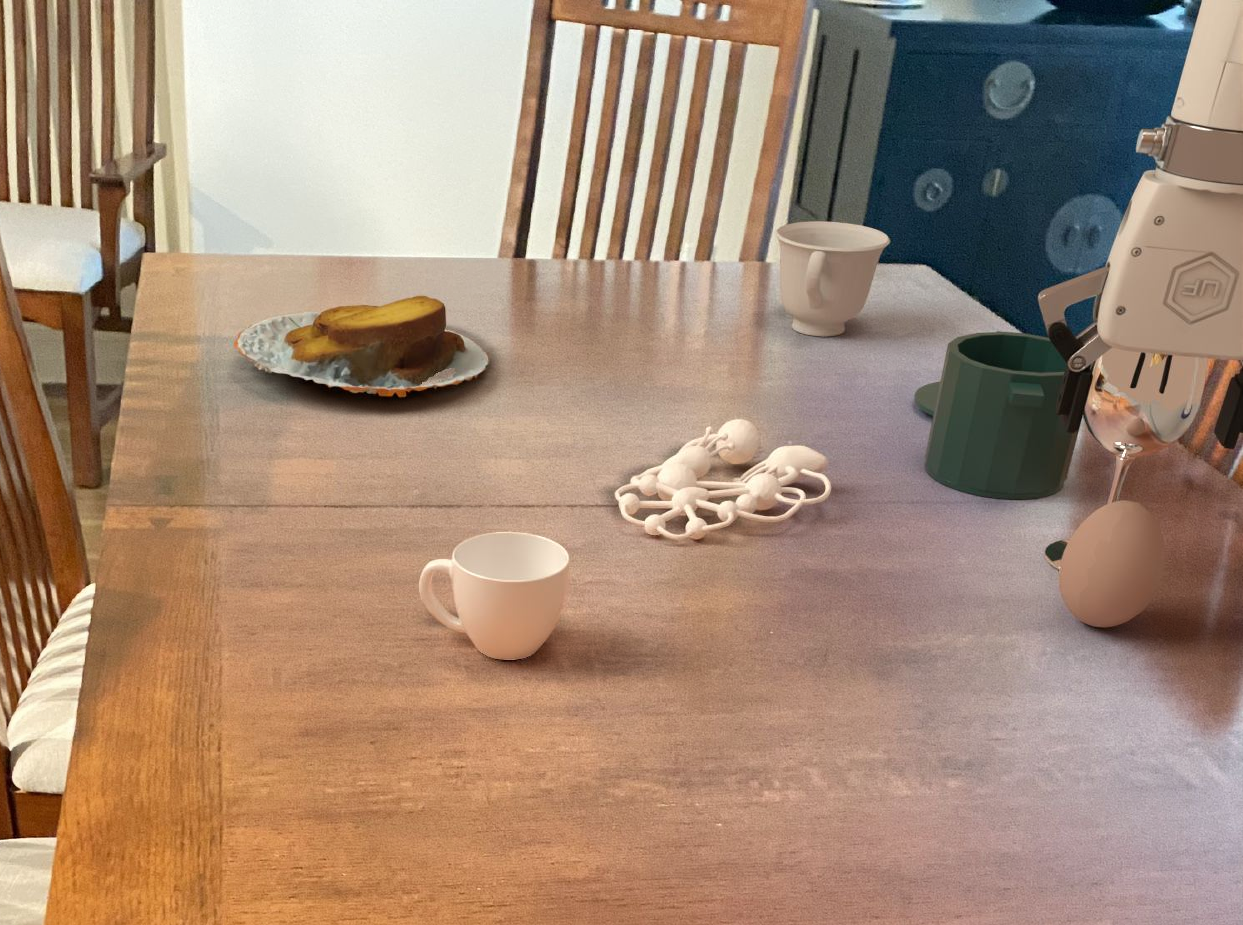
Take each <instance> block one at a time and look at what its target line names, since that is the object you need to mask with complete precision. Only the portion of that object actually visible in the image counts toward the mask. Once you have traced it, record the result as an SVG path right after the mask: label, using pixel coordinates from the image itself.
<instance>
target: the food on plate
mask: <svg viewBox="0 0 1243 925" xmlns="http://www.w3.org/2000/svg"><path fill="white" fill-rule="evenodd" d="M446 311H447V308H446V306H445V304H444V302H442V301H440V300H439V299H437V298H432V297H429V296H427V295H417V296H412V297H407V298H403V299H398V300H396V301H392V302H389V303H386V304H383V305H380V306H379V305H368V304H359V305H341V306H340V305H339V306H336V307H331V308H329V309H326V310H323V311H321V312H320V311H319V312H318V311H316V312H315V311H304V312H301V313H289V314H288V313H287V314H283V315H282V314H281V315H276V316H272V317H268V318H265V319H263V320H260V321H258V322H255V323H252V324H250V325H249V326H248V327H247V328H245V329H243V330H242V331H240V332H239V333H238V334H237V338H236V340H235V341H234V343H233V345H234V348H235V349H236V350H238V353H239V354H241V355H242V356H245V357H246V358H247V361H248V363H253V364H254V366H255V367H256V368H257V369H258V370H259V371H263V370H264V371H265V372H266V373H269V374H272V373H276V374H286V375H289V376H291V377H294V378H301V379H304V380H305V381H309V380H312V381H313V382H314V383H316V384H324V385H326V386H327V387H328V388H329V389H330V388H333V387H339V388H341V389H343V390H345V391H349V392H350V393H353V394H357V393H362V394H363V393H365V392H366V393H367V394H373V395H376V394H378V396H379V397H393V396H394V394H396V395H397V396H398V398H405V397H407V393H410V392H411V391H418V392H420V391H424V390H427V389H428V388H429V389H430V388H434V390H436V389H437V388H438V387H442V388H443V387H446V386H449V385H456V386H458V385H459V384H460V383H462V382H464V381H471V380H472V379H473V378H475V379H477V378H478V375H479V374H481V373H482V372H484V371H485V370H487V368H486V366H487V365H488V364H491V362H490V358H489V356H488V355H489V352H488V351H486V350H485V351H484V350H483V348H482V347H481V345H478V343H476V342H474V340H473V339H470V338H468V337H466V336H464V335H462V334H460V333H458V332H457V331H453V330H450V329H446V327H447V312H446ZM449 368H455V372H456V373H455V374H454V375H453V378H452V379H446V380H442V381H441V382H440V381H439V382H438V383H433V384H428V385H422V386H420V385H421V384H422V382H426V381H427V380H428V378H429V377H433V376H434V375H435V374H436V373H438V372H442V371H443V370H445V369H449Z"/></svg>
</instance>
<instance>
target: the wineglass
mask: <svg viewBox="0 0 1243 925" xmlns="http://www.w3.org/2000/svg"><path fill="white" fill-rule="evenodd" d="M1208 362H1209V358H1198V357H1187V356H1176V355H1165V354H1154V353H1144V352H1134V351H1126V350H1121V349H1117V348H1114V347H1112V348H1111V349H1109V350H1108V351H1107V352H1106V353H1104V354H1103V355H1102V356H1101V357H1099V358H1098V359H1097V360H1095V361H1094V363H1093V365H1092V368H1091V371H1092V374H1093V380H1092V384H1091V387H1090V391H1089V395H1088V398H1087V402H1086V406H1085V409H1084V413H1083V417H1082V419H1083V421H1084V423H1085V425H1086V428H1087V430H1088V432H1089V433H1090V434H1091V436H1092V437H1093V438H1094V439H1095V440H1096V442H1097V443H1098V444H1099V445H1100V446H1101V447H1102V448H1104V449H1105V450H1106V451H1107V452H1109V453H1111V454H1112V455H1114V472H1113V477H1112V482H1111V486H1110V490H1109V493H1108V496H1107V501H1106V504H1105V505H1107V504H1110V503H1113V502H1116V501H1119V498H1120V493H1121V491H1122V487H1123V485H1124V482H1125V479H1126V476H1127V474H1128V471H1129V469H1130V467H1131V465H1132V463H1133V462H1134V460H1136V458H1143V457H1146V456H1149V455H1153V454H1156V453H1158V452H1160V451H1162V450H1164V449H1166V448H1167V447H1170V446H1172V445H1173V444H1174V443H1175V442H1176V441H1178V440H1179V439H1180V438H1181V437H1182V436H1184V435H1185V434H1186V433H1187V431H1188V430H1189V429H1190V427H1191V426H1192V424H1193V423H1194V421H1195V420H1196V417H1197V414H1198V412H1199V409H1200V406H1201V403H1202V398H1203V395H1204V389H1205V385H1206V379H1207V374H1208V373H1207V372H1208V364H1209V363H1208ZM1069 540H1070V538H1067V539H1065V538H1064V539H1060V540H1057V541H1054V542H1052V543H1050V544H1047V546H1046V547H1045V548H1044V551H1043V556H1044V559H1045V560H1046V562H1048V563H1049V564H1050V565H1051V566H1052V567H1053V568H1054V569H1057V570H1059V569H1060V562H1061V559H1062V556H1063V553H1064V550H1065V548H1066V546H1067V544H1068V542H1069Z"/></svg>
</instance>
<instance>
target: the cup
mask: <svg viewBox="0 0 1243 925" xmlns="http://www.w3.org/2000/svg"><path fill="white" fill-rule="evenodd" d="M570 564H571V558H570V554H569V552H568V551H567V550H566V548H565V547H564V546H562V544H560V543H558V542H557V541H554V540H553V539H550V538H548V537H544V536H541V535H537V534H534V533H527V532H520V531H519V532H517V531H496V532H488V533H483V534H478V535H474V536H471V537H468V538H467V539H464V540H463V541H461V542H460V543H458V544H457V545H456V546H455V547H454V549H453V550H452V553H451V558H436V559H433V560H431V561H428V562H427V563H426V564H425V565H424V567H423V569H422V571H421V572H420V577H419V581H418V593H419V597H420V599H421V601H422V603H423V605H424V606H425V608H426V609H427V610H428V612H429V614H431V615H432V616H433V617H434V618H435V619H436V620H437V621H438V622H439V623H441V624H442V625H444V626H445V627H447V628H448V629H450V630H452V631H454V632H460V633H464V634H466V635H467V637H468V638H469V640H470V641H471V643H472V644H473V645H474V647H475V648H476V650H478V652H479V651H480V652H481V653H480V652H479V653H480V654H482V653H483V654H485V655H487V656H490V657H493V658H498V659H520V658H524V657H527V656H529V655H531V654H533V655H534V654H535V653H536V652H537V651H539V650H540V648H541V647H542V646H543V645H544V643H545V642H546V641H547V640H548V638H549V637H550V635H552V632H553V630H554V629H555V627H556V625H557V624H558V621H559V619H560V617H561V615H562V613H563V609H564V606H565V602H566V598H567V594H568V588H569V579H570V578H569V577H570ZM437 573H440V574H441V573H442V574H446V575H448V576H449V578H450V582H451V588H452V596H453V597H452V598H453V601H454V602H453V603H454V606H455V611H456V613H457V616H458V617H457V616H455V615H453V614H452V613H450V611H449V610H447V609H446V608H445V607H444V606H443V605H442V603H441V602H440V601H439V599H438V598H437V597H436V595H435V593H434V590H433V586H432V585H433V578H434V575H435V574H437ZM483 654H482V655H483ZM485 655H484V656H485Z"/></svg>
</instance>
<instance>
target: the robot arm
mask: <svg viewBox="0 0 1243 925" xmlns="http://www.w3.org/2000/svg"><path fill="white" fill-rule="evenodd" d="M1135 152H1136V154H1147V156H1148V157H1153V159H1154V162H1155V163H1156V167H1155V169H1150V170H1145V171H1144V172H1143V174H1142V176H1141V178H1140V180H1139V182H1138V183H1137V186H1136V188H1135V189H1134V192H1133V194H1132V196H1131V198H1130V200H1129V203H1128V205H1127V207H1126V210H1125V212H1124V215H1123V217H1122V220H1121V222H1120V226H1119V227H1118V230H1117V233H1116V236H1115V239H1114V241H1113V243H1112V246H1111V249H1110V252H1109V255H1108V258H1107V261H1106V263H1105V266H1103V267H1100V268H1098V269H1095V270H1092V271H1090V272H1087V273H1084V274H1081V275H1079V276H1077V277H1074V278H1071V279H1069V280H1066V281H1063V282H1061V283H1058V284H1054V285H1052V286H1051V287H1047V288H1044V289H1043V290H1041V291H1040V292H1039V293H1038V296H1037V301H1038V306H1039V309H1040V312H1041V316H1042V319H1043V323H1044V327H1045V332H1046V334H1047V336H1048V337H1047V338H1049V339H1050V341H1051V342H1052V344H1053V345H1054V346H1055V348H1056V349H1057V351H1058V352H1059V353H1060V355H1061V356H1062V358H1063V359H1064V360H1065V362H1066V363H1067V364H1066V368H1065V372H1064V375H1063V379H1062V383H1061V387H1060V391H1059V395H1058V398H1057V402H1056V409H1055V411H1056V414H1057V415H1062V422H1063V425H1064V428H1065V431H1066V432H1067V433H1075V431H1079V432H1080V429H1079V428H1081V425H1082V421H1081V420H1083V413H1084V409H1085V406H1086V402H1087V398H1088V395H1089V391H1090V387H1091V384H1092V380H1093V374H1092V371H1091V369H1090V367H1091V364H1092V363H1093V362H1094V361H1095V360H1097V359H1098V358H1099V357H1101V356H1102V355H1103V354H1104V353H1106V352H1107V351H1108V350H1109V349H1111V348H1112V347H1114V348H1117V349H1121V350H1126V351H1134V352H1144V353H1154V354H1165V355H1176V356H1187V357H1198V358H1208V360H1209V359H1211V360H1223V361H1237V362H1238V363H1239V365H1240V367H1241V368H1240V370H1239V372H1238V373H1234V376H1232V377H1230V379H1229V383H1228V386H1227V389H1226V393H1225V396H1224V398H1223V401H1222V403H1221V404H1222V405H1221V408H1220V411H1219V414H1218V417H1217V420H1216V422H1215V426H1214V431H1213V433H1214V435H1215V438H1216V439H1217V441H1218V442H1219V444H1220V446H1221V447H1223V448H1224V449H1226V450H1227V449H1228V450H1234V449H1235V448H1236V446H1237V442H1238V439H1239V437H1240V434H1243V0H1201V3H1200V7H1199V10H1198V14H1197V18H1196V21H1195V25H1194V29H1193V32H1192V36H1191V41H1190V43H1189V47H1188V51H1187V54H1186V58H1185V62H1184V65H1183V69H1182V72H1181V76H1180V79H1179V84H1178V86H1177V91H1176V95H1175V98H1174V102H1173V105H1172V109H1171V113H1170V115H1167V117H1166V119H1165V123H1164V122H1163V123H1162V124H1161V127H1154V128H1153V129H1148V128H1142V129H1140V131H1139V134H1138V137H1137V140H1136V146H1135ZM1094 297H1095V300H1094V304H1093V308H1092V321H1093V322H1092V323H1091V324H1090V325H1089V326H1087V327H1086V328H1085V329H1084V330H1083V331H1081V332H1080V333H1078V334H1077V335H1075V334H1074V332H1073V330H1072V329H1071V328H1070V327H1069V325H1068V324H1067V321H1066V320H1067V319H1066V316H1065V312H1066V309H1067V308H1068V307H1070V306H1072V305H1074V304H1078V303H1079V302H1082V301H1085V300H1088V299H1091V298H1094ZM1080 424H1081V425H1080Z"/></svg>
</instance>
